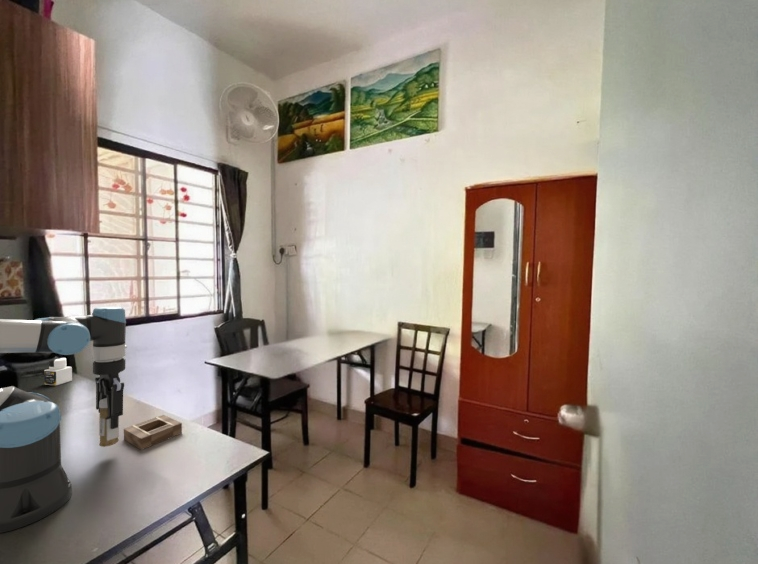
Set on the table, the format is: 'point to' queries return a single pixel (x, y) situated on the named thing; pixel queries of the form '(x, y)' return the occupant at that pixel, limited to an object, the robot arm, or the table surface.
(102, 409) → the sprinkles bottle
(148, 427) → the socket
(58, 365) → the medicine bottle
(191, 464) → the table surface
